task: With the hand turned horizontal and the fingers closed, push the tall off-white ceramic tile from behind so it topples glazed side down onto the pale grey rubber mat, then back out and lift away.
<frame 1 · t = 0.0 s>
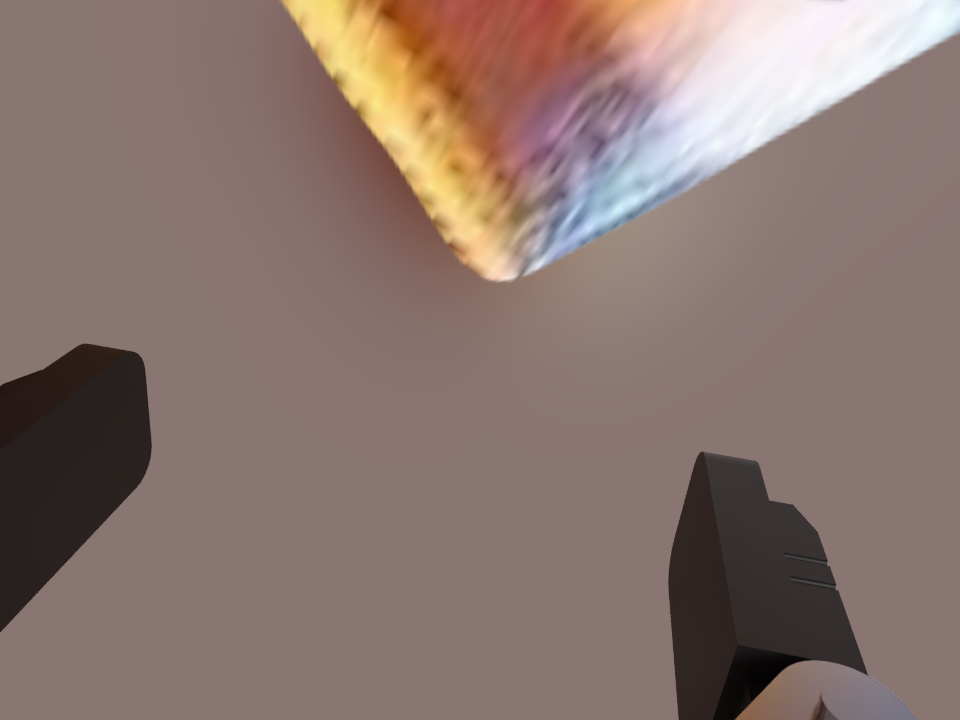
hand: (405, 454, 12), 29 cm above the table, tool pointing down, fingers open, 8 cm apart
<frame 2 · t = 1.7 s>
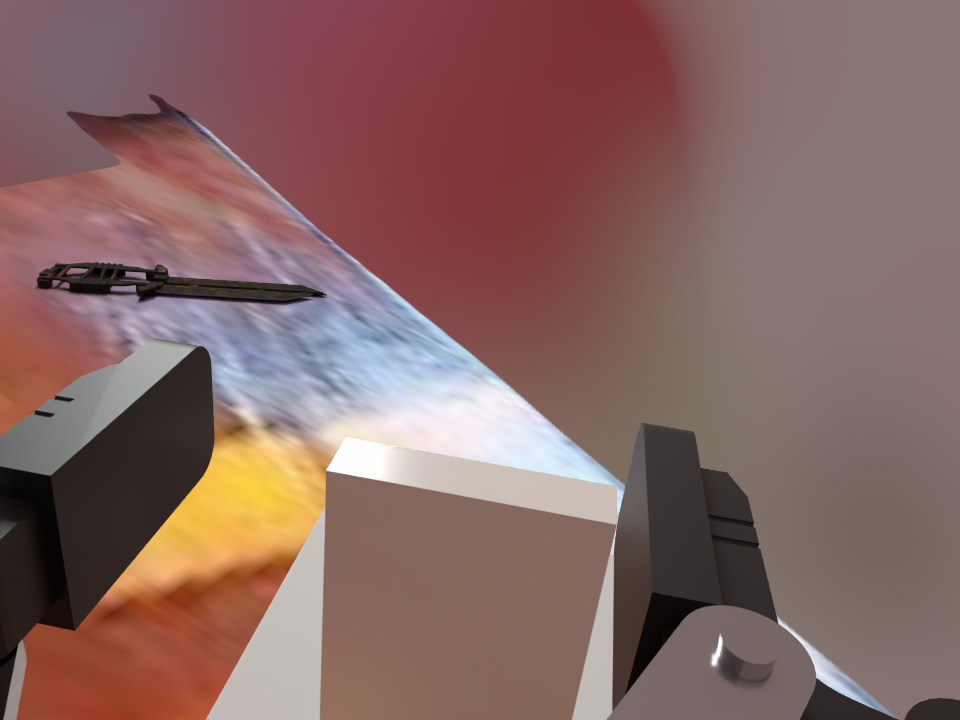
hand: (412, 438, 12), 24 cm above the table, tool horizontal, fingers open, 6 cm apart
mat: (464, 668, 39), on the table
knife: (188, 293, 76), on the table
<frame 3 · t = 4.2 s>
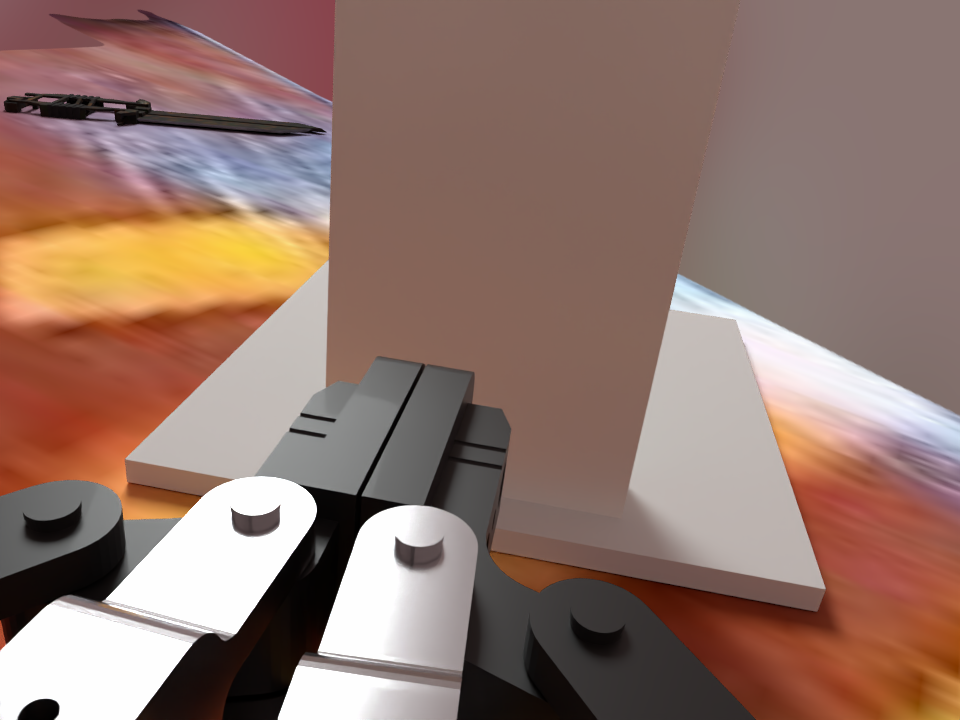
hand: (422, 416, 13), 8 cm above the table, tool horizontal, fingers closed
mat: (501, 390, 31), on the table
tile: (475, 472, 25), point 1 cm above the table, touching mat
knife: (173, 127, 68), on the table
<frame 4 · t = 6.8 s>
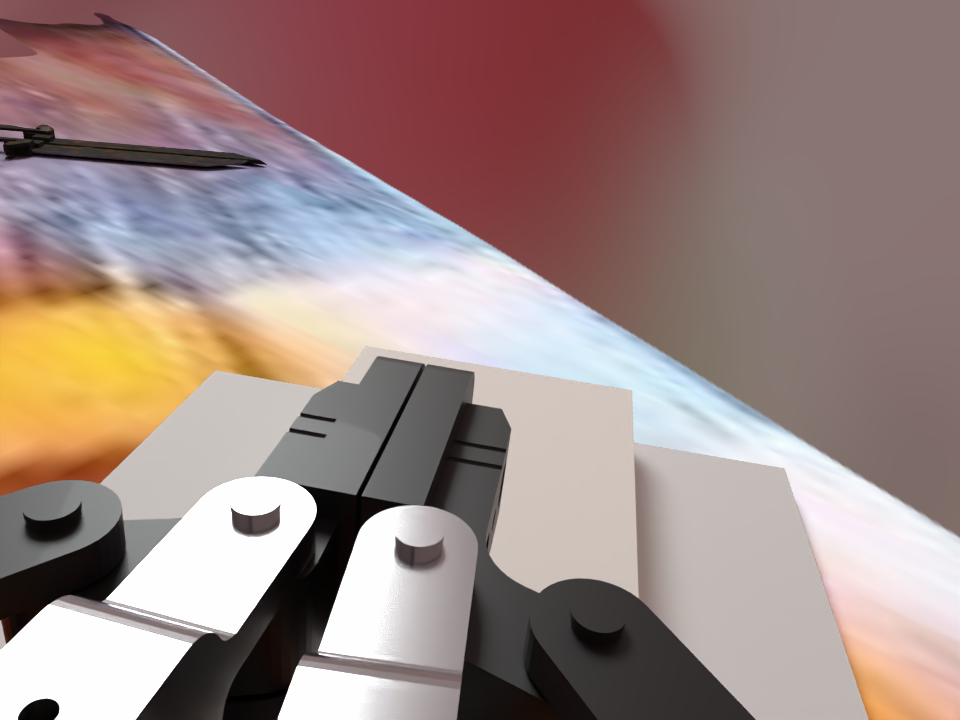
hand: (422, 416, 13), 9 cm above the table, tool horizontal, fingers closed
mat: (432, 635, 20), on the table
knife: (80, 159, 57), on the table
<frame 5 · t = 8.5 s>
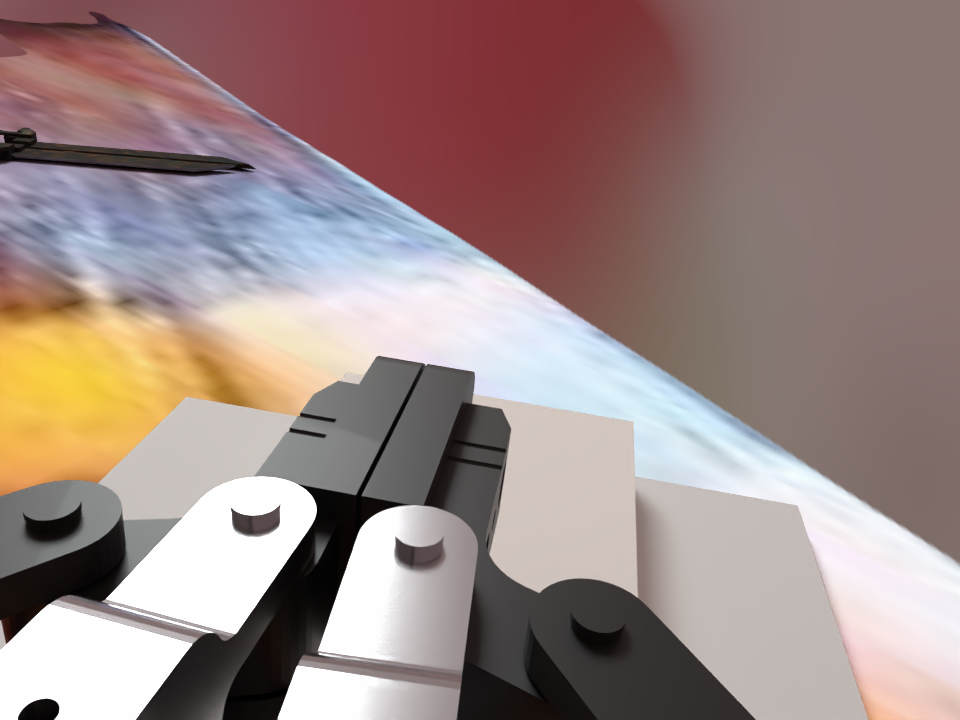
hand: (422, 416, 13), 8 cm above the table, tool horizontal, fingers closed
mat: (411, 704, 18), on the table
knife: (63, 164, 55), on the table
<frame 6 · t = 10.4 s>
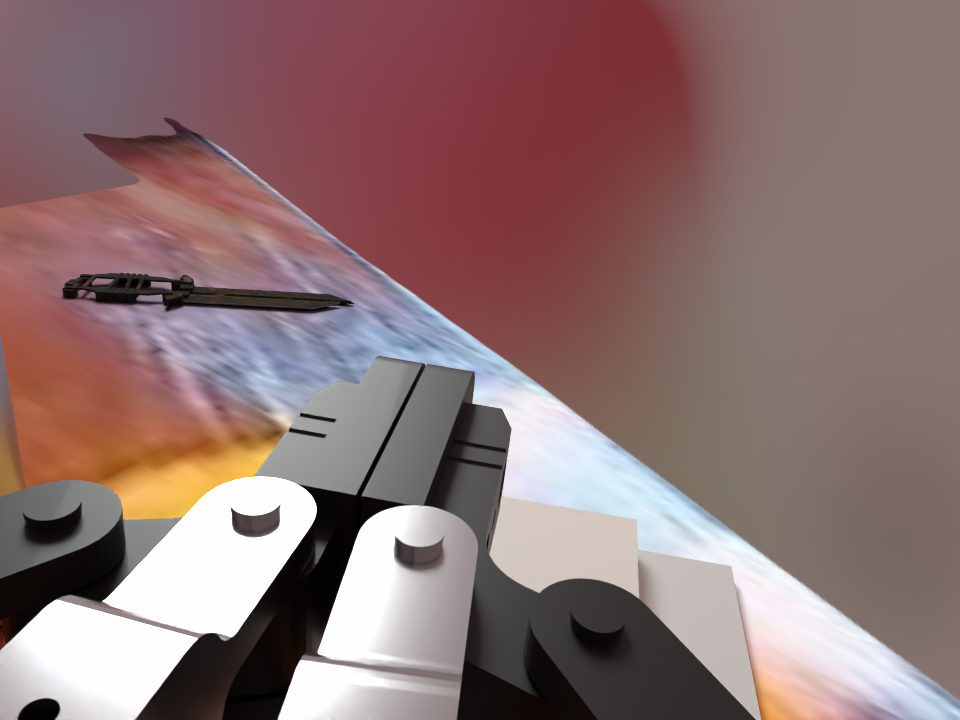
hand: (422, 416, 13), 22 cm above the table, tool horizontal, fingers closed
mat: (530, 672, 37), on the table
knife: (214, 303, 75), on the table
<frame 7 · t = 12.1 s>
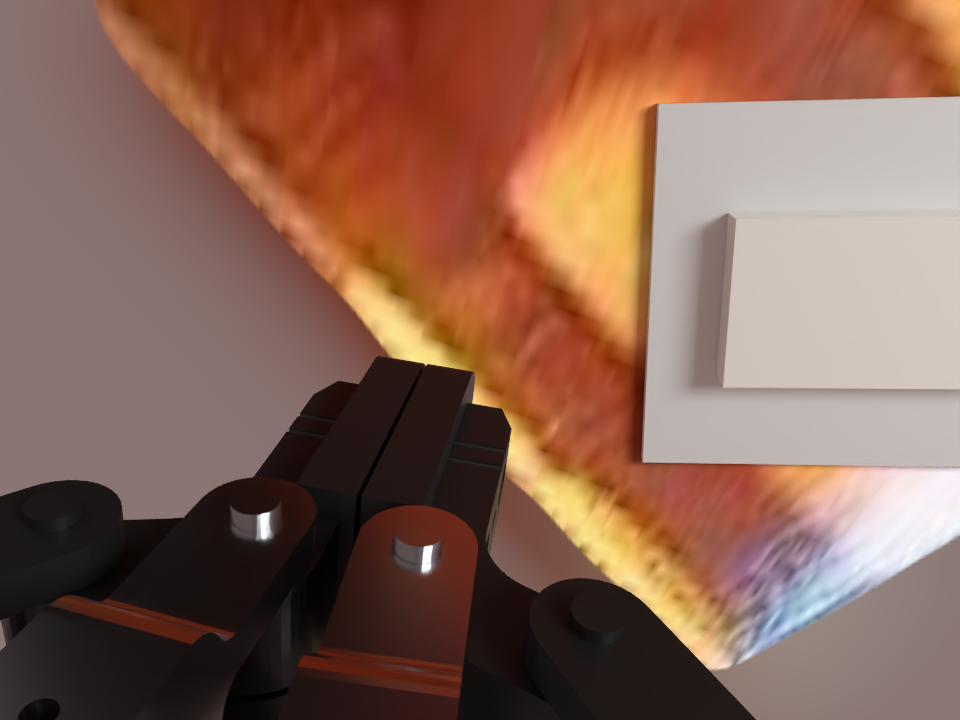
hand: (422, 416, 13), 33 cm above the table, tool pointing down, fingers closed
mat: (825, 292, 44), on the table
tile: (725, 301, 43), point 2 cm above the table, tilted 90°, touching mat
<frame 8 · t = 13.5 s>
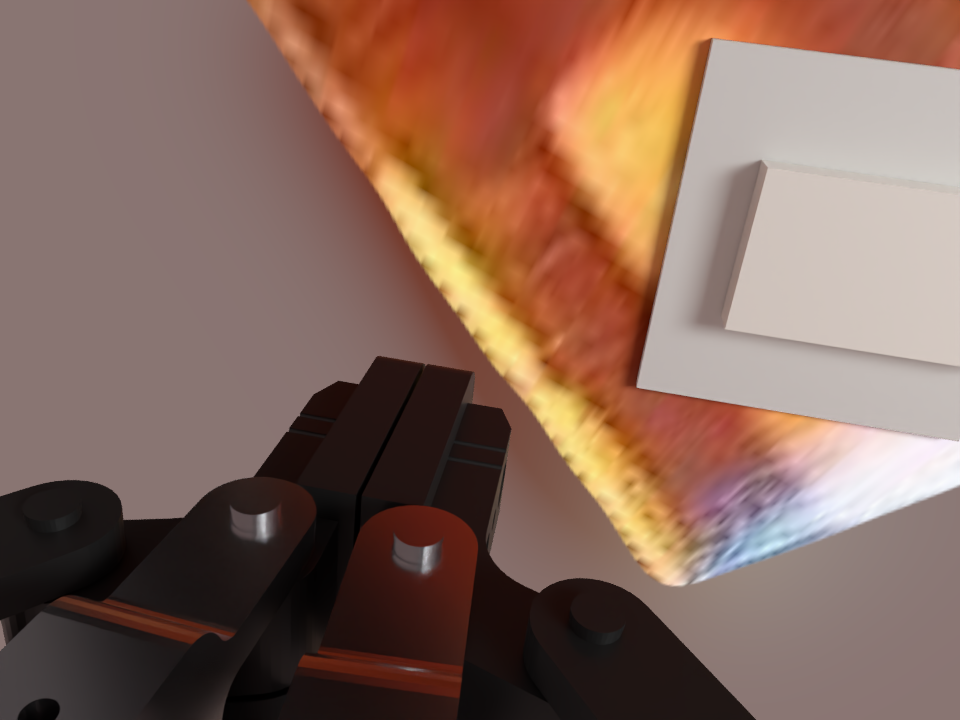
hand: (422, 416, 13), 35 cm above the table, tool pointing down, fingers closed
mat: (842, 252, 45), on the table
tile: (742, 246, 44), point 2 cm above the table, tilted 90°, touching mat
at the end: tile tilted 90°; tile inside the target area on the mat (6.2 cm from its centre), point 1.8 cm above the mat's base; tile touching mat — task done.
